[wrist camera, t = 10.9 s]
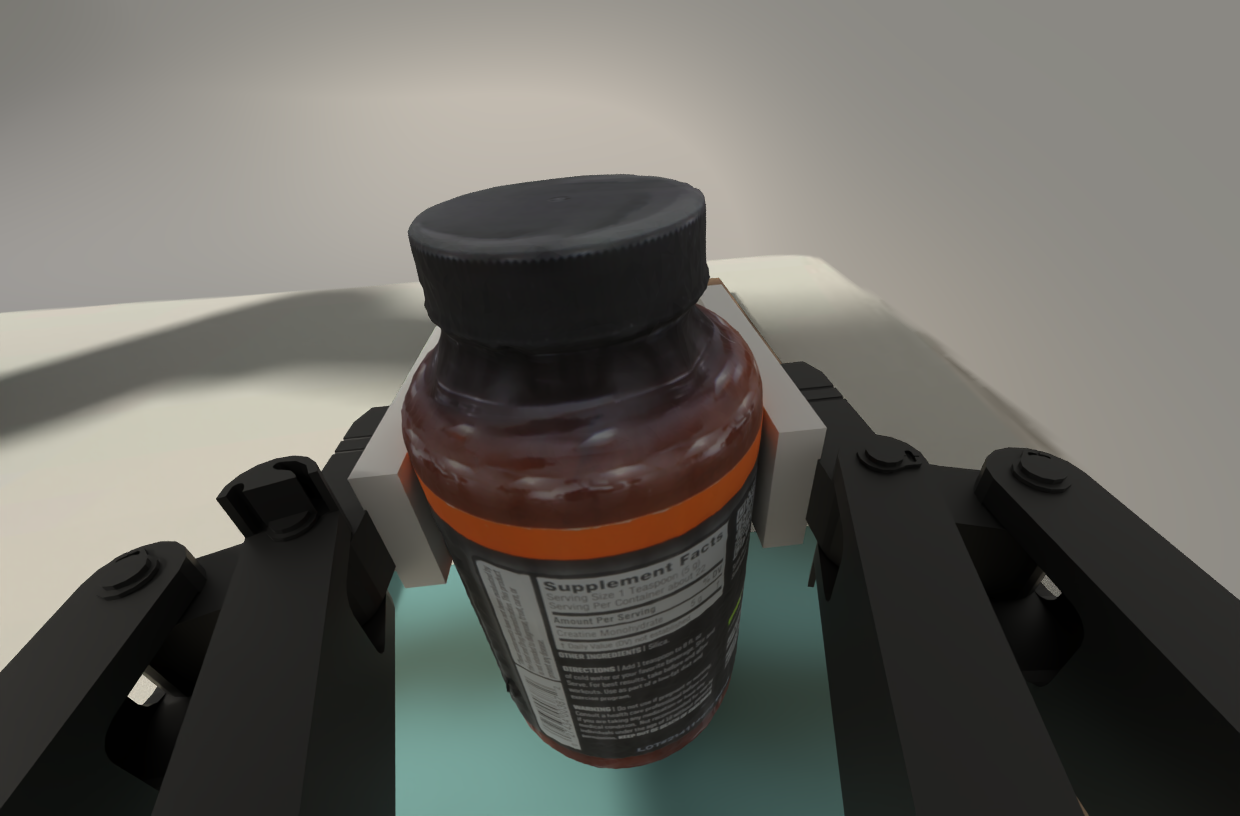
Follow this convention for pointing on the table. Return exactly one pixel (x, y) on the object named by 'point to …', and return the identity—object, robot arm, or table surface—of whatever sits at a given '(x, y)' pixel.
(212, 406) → the table surface
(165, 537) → the table surface
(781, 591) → the channel track
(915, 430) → the table surface
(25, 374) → the table surface
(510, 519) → the supplement bottle
